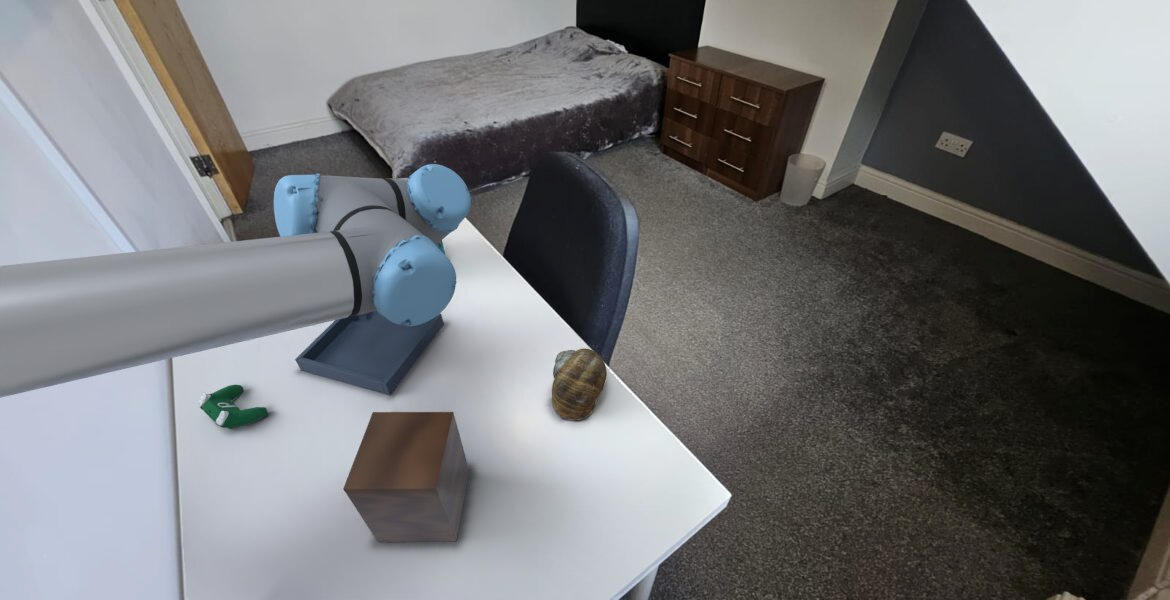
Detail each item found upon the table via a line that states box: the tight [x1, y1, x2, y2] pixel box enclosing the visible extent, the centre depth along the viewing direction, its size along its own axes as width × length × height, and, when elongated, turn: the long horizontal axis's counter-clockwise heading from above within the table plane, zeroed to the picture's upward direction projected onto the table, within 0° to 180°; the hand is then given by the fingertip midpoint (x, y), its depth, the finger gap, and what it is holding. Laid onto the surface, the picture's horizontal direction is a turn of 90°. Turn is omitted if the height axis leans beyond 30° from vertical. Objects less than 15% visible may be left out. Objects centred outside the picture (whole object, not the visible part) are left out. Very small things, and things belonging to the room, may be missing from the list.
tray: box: [294, 311, 445, 396], centre depth 84 cm, size 18×18×3 cm
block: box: [342, 411, 470, 543], centre depth 59 cm, size 10×10×14 cm
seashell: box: [551, 347, 608, 421], centre depth 76 cm, size 11×9×8 cm
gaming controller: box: [198, 384, 269, 430], centre depth 73 cm, size 9×4×6 cm
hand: (342, 300), depth 80 cm, fingers closed on milkshake, 5 cm apart
